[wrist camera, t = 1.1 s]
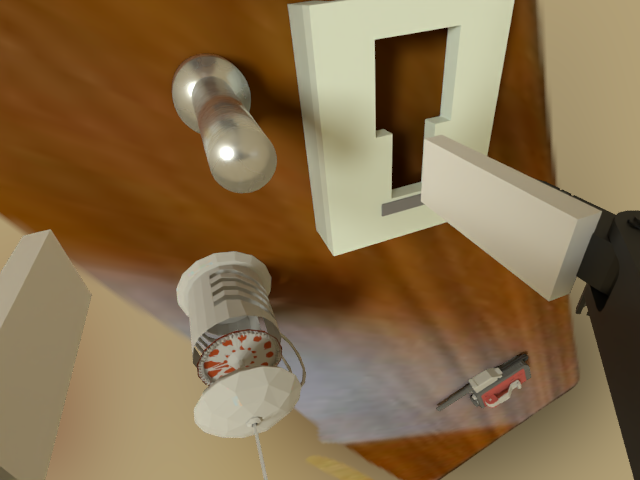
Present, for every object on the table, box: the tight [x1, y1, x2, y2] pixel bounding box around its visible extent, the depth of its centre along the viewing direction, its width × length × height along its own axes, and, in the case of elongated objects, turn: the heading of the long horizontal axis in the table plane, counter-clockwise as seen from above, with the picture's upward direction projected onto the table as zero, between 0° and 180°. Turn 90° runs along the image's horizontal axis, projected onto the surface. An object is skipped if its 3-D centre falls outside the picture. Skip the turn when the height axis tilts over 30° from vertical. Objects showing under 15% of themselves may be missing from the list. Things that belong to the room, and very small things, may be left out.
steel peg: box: [172, 53, 277, 193], centre depth 22 cm, size 6×6×15 cm
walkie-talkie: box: [436, 354, 531, 411], centre depth 70 cm, size 9×4×20 cm
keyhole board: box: [288, 0, 515, 256], centre depth 32 cm, size 20×16×5 cm
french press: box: [176, 251, 306, 480], centre depth 29 cm, size 10×12×25 cm
